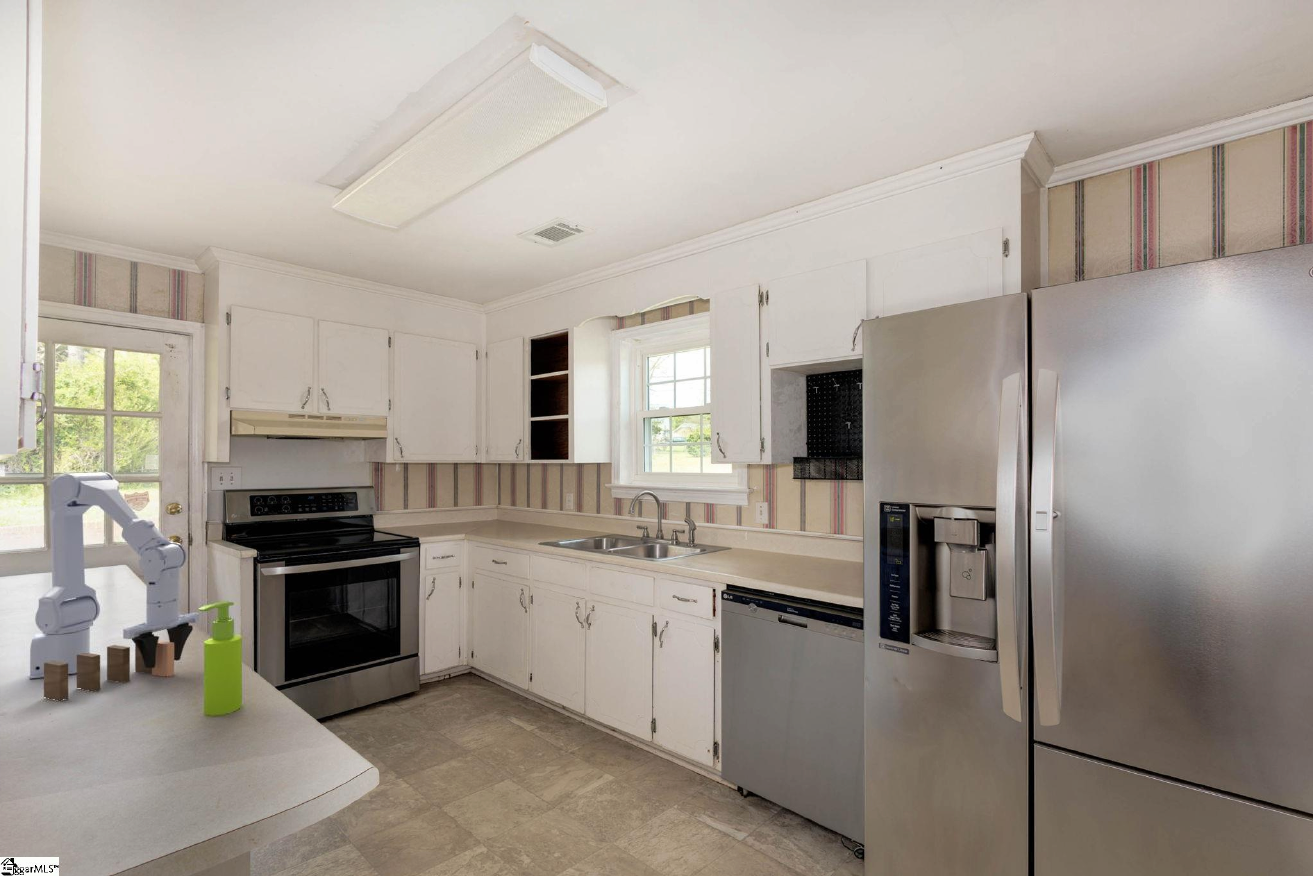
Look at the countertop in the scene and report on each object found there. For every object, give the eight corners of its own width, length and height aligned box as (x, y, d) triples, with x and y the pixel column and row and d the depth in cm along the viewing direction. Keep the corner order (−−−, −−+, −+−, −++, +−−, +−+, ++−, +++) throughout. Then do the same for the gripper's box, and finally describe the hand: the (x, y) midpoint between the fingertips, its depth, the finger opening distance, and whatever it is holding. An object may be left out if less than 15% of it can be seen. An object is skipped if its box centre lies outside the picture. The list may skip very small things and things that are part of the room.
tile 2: (150, 674, 143) (150, 641, 144) (135, 671, 145) (135, 639, 145) (157, 672, 145) (157, 640, 145) (142, 669, 147) (142, 638, 147)
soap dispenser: (191, 714, 121) (191, 605, 121) (230, 701, 127) (230, 597, 127) (209, 720, 118) (209, 608, 119) (248, 706, 124) (248, 600, 125)
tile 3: (122, 682, 138) (122, 649, 138) (106, 680, 140) (107, 646, 140) (129, 680, 140) (129, 647, 140) (114, 677, 141) (114, 645, 141)
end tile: (59, 701, 128) (59, 665, 128) (43, 698, 130) (43, 662, 130) (68, 699, 129) (68, 663, 129) (52, 696, 131) (52, 660, 131)
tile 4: (92, 691, 133) (92, 656, 133) (76, 688, 135) (76, 654, 135) (100, 689, 134) (100, 654, 135) (84, 686, 136) (84, 652, 136)
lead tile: (167, 677, 141) (167, 644, 141) (151, 674, 143) (151, 642, 143) (174, 675, 143) (174, 642, 143) (158, 672, 144) (158, 640, 145)
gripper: (139, 609, 135) (138, 676, 135) (208, 594, 149) (208, 655, 148) (116, 607, 137) (116, 672, 137) (187, 592, 151) (187, 652, 151)
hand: (162, 663), depth 143 cm, fingers open, 5 cm apart
